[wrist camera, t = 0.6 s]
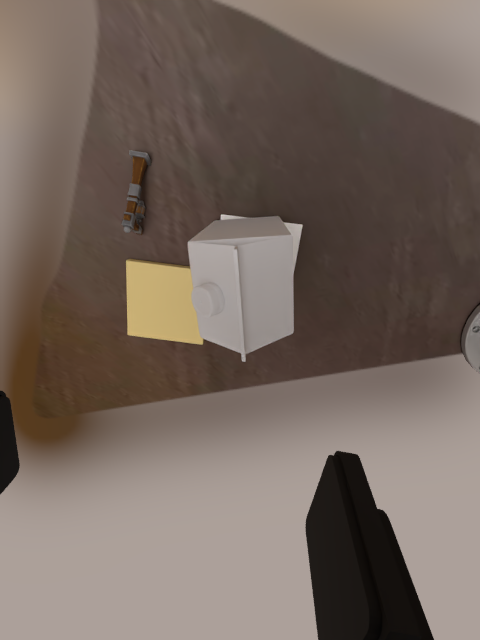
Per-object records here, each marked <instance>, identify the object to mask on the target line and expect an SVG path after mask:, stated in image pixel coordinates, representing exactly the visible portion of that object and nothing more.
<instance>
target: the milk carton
mask: <svg viewBox="0 0 480 640" xmlns="http://www.w3.org/2000/svg"><path fill="white" fill-rule="evenodd" d="M188 252H189V260H190V268H191V276H192V283H193V290H192V294H191V298H192V304H193V307H194V309H195V311H196V313H197V321H198V328H199V333H200V337H201V338H203V339H206V340H208V341H211V342H213V343H216V344H218V345H221V346H224V347H226V348H229V349H231V350H234V351H236V352H239V353H241V356H242V362H245V360H246V354H247V353H249V352H252V351H254V350H256V349H259V348H261V347H263V346H265V345H268V344H270V343H272V342H274V341H277V340H279V339H281V338H283V337H286V336H288V335H290V334H292V333H293V332H294V296H293V236H292V235H291V233H290V232H289V230H288V229H287V227H286V226H285V224H284V223H283V221H282V220H281V218H280V217H279V216H270V217H256V218H242V219H228V220H215V221H214V222H212V223H211V224H210V225H209V226H207V227H206V228H205V229H204V230H202V231H201V232H200V233H198V234H197V235H196V236H195V237H193V238H192V239H191V240H190V241H189V242H188Z"/></svg>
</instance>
